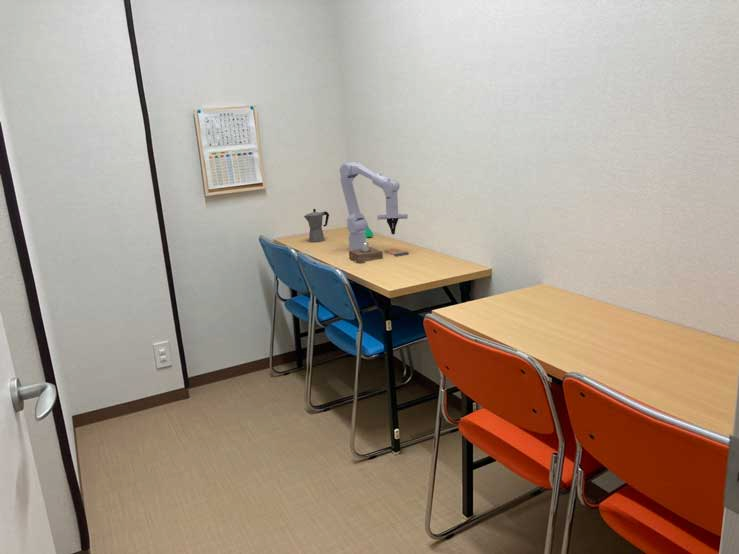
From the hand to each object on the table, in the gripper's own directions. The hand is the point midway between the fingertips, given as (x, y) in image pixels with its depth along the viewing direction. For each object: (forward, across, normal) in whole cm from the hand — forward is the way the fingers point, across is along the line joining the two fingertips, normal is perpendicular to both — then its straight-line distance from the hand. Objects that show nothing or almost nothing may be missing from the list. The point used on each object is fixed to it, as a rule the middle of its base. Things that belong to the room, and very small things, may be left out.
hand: (393, 233), depth 284 cm
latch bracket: (+10, -4, +6) cm, 12 cm away
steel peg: (+10, +13, +10) cm, 19 cm away
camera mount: (+10, +22, -42) cm, 48 cm away
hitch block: (+10, +13, +10) cm, 19 cm away
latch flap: (+10, 0, +1) cm, 10 cm away
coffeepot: (+10, +46, -38) cm, 60 cm away
